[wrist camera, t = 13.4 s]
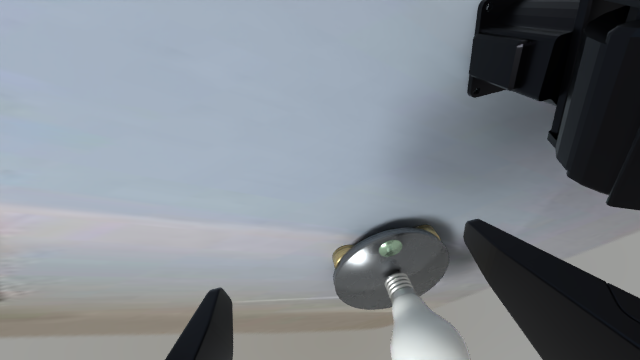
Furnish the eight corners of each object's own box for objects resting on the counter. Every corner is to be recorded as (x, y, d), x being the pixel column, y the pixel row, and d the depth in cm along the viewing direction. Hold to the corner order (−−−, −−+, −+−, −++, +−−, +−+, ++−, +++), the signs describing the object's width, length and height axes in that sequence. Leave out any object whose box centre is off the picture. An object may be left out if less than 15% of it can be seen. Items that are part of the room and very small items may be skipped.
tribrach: (440, 204, 27) (455, 221, 25) (434, 276, 35) (445, 294, 33) (320, 236, 27) (324, 256, 25) (340, 301, 35) (345, 320, 33)
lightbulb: (422, 250, 27) (497, 373, 18) (420, 284, 31) (481, 401, 22) (363, 265, 27) (408, 396, 18) (368, 297, 31) (408, 420, 22)
